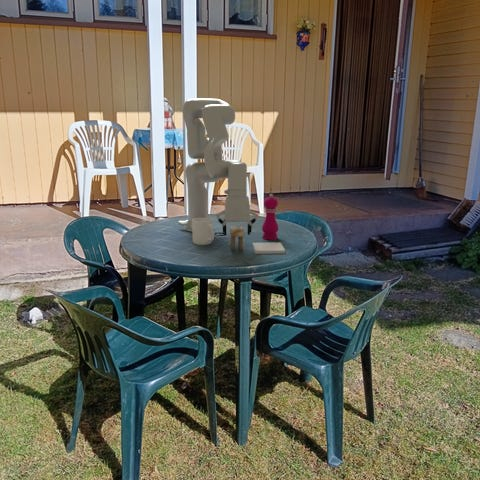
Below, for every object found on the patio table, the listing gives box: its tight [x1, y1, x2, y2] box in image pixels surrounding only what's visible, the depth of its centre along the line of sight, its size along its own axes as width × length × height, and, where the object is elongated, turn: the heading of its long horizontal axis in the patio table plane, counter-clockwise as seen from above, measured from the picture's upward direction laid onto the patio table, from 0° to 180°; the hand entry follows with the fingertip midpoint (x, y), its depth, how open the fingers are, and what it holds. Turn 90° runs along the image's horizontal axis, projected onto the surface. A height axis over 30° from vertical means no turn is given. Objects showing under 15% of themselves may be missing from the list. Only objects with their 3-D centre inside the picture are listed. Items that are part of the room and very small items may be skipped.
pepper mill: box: [261, 193, 279, 241], centre depth 218 cm, size 7×7×20 cm
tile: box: [252, 242, 286, 255], centre depth 203 cm, size 12×12×1 cm
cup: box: [192, 217, 216, 246], centre depth 209 cm, size 8×12×10 cm
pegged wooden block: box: [229, 225, 245, 252], centre depth 203 cm, size 5×8×8 cm, turn 4°
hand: (237, 234), depth 202 cm, fingers open, 9 cm apart
